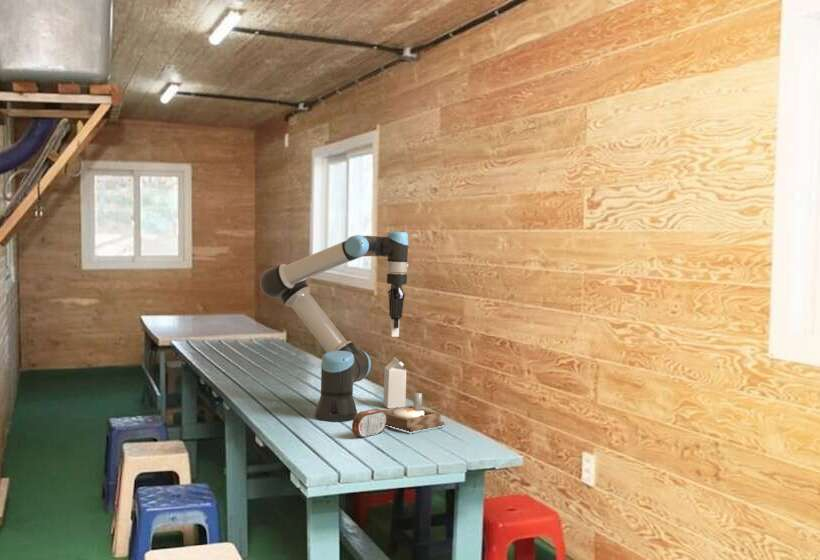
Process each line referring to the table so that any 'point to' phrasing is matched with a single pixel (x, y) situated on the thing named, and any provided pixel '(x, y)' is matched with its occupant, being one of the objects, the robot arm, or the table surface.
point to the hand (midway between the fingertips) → (394, 336)
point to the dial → (411, 412)
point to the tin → (369, 422)
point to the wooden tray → (413, 420)
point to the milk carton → (394, 384)
